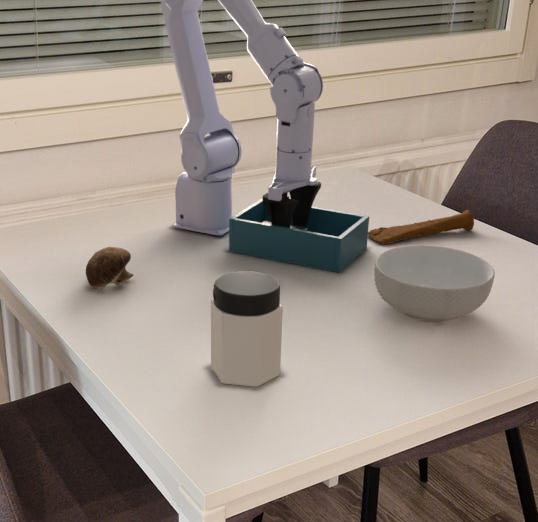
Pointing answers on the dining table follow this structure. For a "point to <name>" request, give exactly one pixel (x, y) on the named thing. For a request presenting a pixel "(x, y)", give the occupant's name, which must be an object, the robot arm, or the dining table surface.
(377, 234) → the primitive tool
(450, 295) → the cereal bowl
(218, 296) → the jar
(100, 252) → the mushroom
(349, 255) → the bin
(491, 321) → the dining table surface
